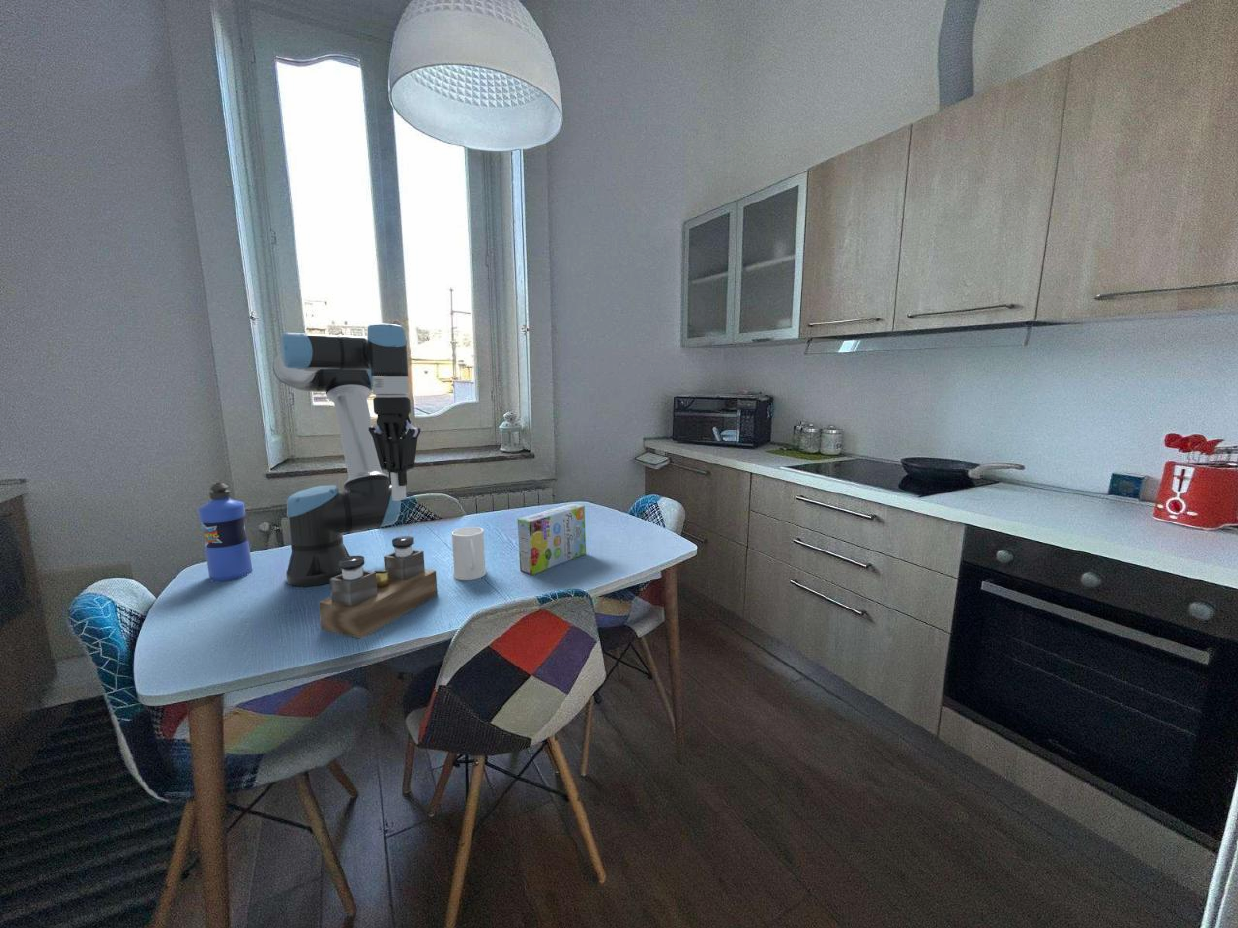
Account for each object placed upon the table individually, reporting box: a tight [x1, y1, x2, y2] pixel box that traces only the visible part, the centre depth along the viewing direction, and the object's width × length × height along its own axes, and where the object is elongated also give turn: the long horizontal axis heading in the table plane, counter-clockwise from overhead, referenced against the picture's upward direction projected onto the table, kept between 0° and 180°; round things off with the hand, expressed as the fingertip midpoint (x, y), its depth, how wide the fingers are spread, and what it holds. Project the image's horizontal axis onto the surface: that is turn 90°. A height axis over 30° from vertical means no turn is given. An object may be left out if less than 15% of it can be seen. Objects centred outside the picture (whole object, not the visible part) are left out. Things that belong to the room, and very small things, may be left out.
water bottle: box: [198, 482, 253, 582], centre depth 127 cm, size 9×9×25 cm
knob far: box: [391, 535, 415, 558], centre depth 113 cm, size 5×5×8 cm
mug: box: [451, 526, 487, 581], centre depth 127 cm, size 12×8×12 cm
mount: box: [318, 549, 439, 640], centre depth 108 cm, size 11×22×11 cm, turn 160°
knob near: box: [339, 555, 365, 582], centre depth 101 cm, size 5×5×8 cm
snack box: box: [517, 503, 587, 576], centre depth 137 cm, size 21×6×15 cm, turn 141°
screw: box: [374, 569, 389, 588], centre depth 108 cm, size 3×3×3 cm
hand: (399, 499), depth 111 cm, fingers closed
